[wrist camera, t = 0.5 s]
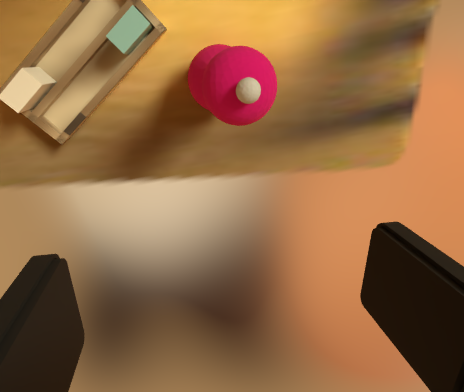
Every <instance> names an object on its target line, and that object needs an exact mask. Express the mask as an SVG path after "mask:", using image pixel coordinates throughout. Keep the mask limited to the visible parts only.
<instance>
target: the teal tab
mask: <svg viewBox="0 0 464 392" xmlns="http://www.w3.org/2000/svg"><path fill="white" fill-rule="evenodd" d="M152 28H153V27H152V26H151V24H150V23H149V22H148V21H147V20H146V19H145V17H144V16H143V15H142V14H141V13H140V12H139V11H138V10H137V9H136V8H135V7H134V6H133V5H132V6H131V7H130V8H129V10H128V11H127V12H126V13H125V14H124V15H123V17H122V18H121V19H120V20H119V21H118V22H117V24H116V25H115V26H114V27H113V28H112V29H111V31H110V32H109V33H108V34H107V35H106V37H107V38H108V39H109V40H110V41H111V42H112V43H113V44H114V45H115V46H116V47H117V48H118V49H119V50H120V51H121V52H122V53H123V54H128V55H129V54H130V53H131V52H132V51H133V50H134V49H135V48H136V47H137V45H138V44H139V43H140V42H141V41H142V40H143V39H144V37H145V36H146V35H147V34H148V33H149V32H150V31H151V30H152Z"/></svg>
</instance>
